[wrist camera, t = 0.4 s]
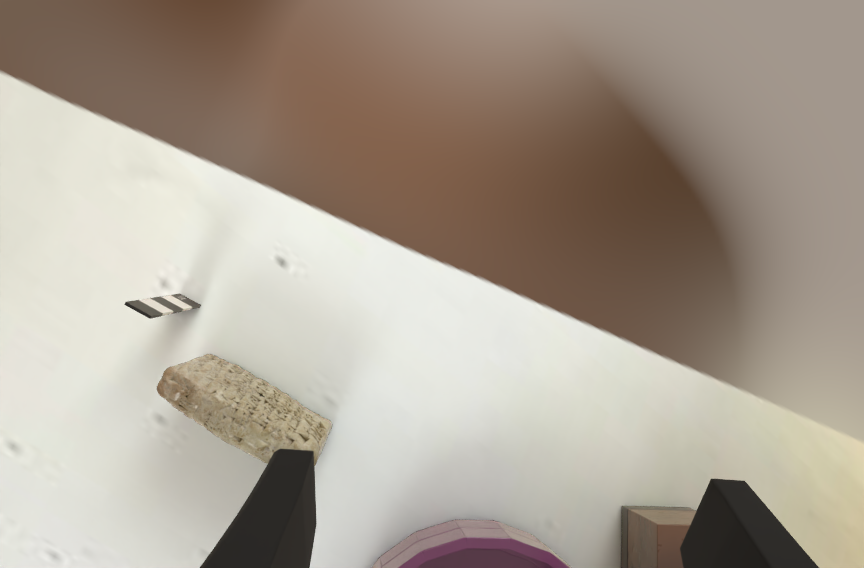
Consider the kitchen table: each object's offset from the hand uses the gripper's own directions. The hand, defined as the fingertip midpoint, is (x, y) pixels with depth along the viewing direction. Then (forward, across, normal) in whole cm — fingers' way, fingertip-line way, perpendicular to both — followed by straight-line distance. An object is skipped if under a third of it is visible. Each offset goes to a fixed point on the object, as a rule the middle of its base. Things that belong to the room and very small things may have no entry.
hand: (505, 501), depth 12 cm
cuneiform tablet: (+22, +12, +18) cm, 30 cm away
